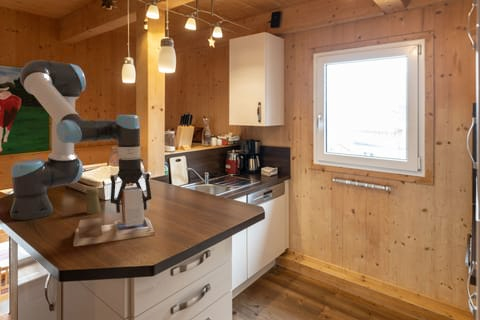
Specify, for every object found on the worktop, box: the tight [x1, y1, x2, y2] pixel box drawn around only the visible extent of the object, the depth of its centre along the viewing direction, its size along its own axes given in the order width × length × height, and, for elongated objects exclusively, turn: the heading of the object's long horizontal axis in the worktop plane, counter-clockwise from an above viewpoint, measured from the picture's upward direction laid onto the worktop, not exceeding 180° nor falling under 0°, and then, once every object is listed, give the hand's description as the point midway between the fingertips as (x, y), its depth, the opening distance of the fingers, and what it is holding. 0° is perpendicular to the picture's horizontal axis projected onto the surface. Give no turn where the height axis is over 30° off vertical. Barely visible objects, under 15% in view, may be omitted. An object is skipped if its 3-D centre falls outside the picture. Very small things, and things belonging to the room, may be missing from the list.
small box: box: [120, 184, 143, 227], centre depth 114 cm, size 8×6×13 cm
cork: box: [85, 186, 102, 215], centre depth 137 cm, size 6×6×11 cm
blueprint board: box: [72, 216, 156, 247], centre depth 113 cm, size 26×14×5 cm, turn 113°
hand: (132, 219), depth 115 cm, fingers open, 7 cm apart
